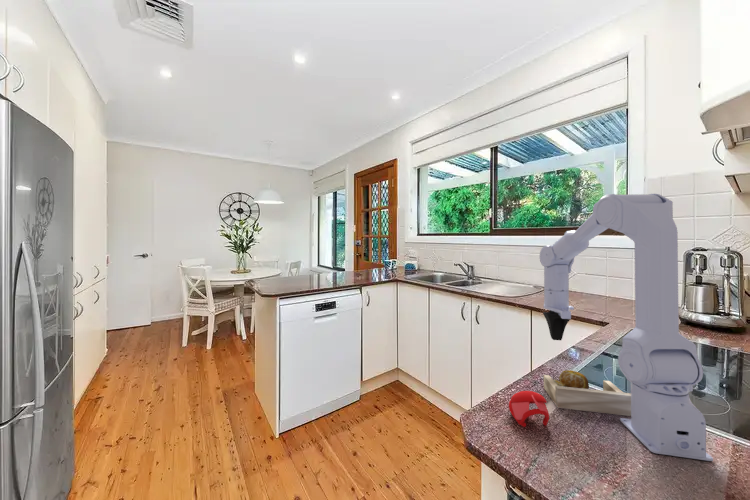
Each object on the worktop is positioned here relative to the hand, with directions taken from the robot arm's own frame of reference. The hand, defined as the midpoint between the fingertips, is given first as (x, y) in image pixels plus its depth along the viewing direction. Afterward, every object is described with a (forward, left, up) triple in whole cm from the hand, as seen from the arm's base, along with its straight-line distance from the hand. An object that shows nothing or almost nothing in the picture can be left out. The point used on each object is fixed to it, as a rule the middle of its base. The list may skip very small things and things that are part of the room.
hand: (556, 339), depth 80 cm
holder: (-17, 0, -8) cm, 19 cm away
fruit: (-11, +1, -9) cm, 14 cm away
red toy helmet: (-29, +14, -8) cm, 33 cm away
